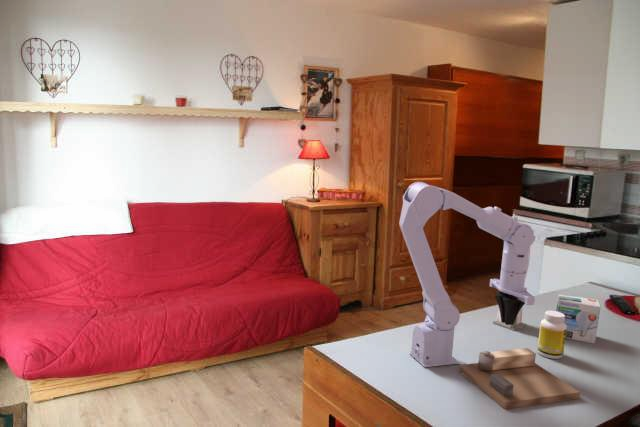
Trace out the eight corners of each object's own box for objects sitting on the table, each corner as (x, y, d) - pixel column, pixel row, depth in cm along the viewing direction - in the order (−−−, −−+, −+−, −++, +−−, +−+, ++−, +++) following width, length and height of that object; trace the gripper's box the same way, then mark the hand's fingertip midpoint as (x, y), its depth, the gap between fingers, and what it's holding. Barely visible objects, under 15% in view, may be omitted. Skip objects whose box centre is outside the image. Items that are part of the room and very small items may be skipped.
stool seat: (504, 409, 105) (506, 391, 104) (459, 370, 121) (460, 355, 120) (579, 398, 110) (581, 381, 110) (526, 363, 126) (527, 348, 126)
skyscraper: (488, 321, 153) (497, 230, 149) (502, 316, 159) (512, 227, 154) (514, 330, 147) (525, 235, 142) (528, 324, 152) (539, 232, 148)
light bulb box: (553, 336, 144) (558, 300, 143) (552, 328, 151) (557, 293, 149) (596, 344, 140) (601, 306, 139) (593, 335, 147) (598, 299, 145)
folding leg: (483, 371, 117) (485, 356, 116) (475, 364, 120) (476, 349, 120) (535, 365, 121) (536, 350, 121) (525, 359, 124) (527, 344, 124)
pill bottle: (566, 360, 129) (571, 319, 127) (540, 358, 130) (545, 316, 128) (559, 350, 135) (564, 310, 133) (534, 347, 136) (539, 308, 134)
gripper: (548, 278, 119) (541, 333, 121) (508, 261, 133) (502, 311, 135) (522, 279, 117) (516, 335, 119) (484, 262, 131) (479, 313, 133)
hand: (507, 323), depth 127 cm, fingers closed
